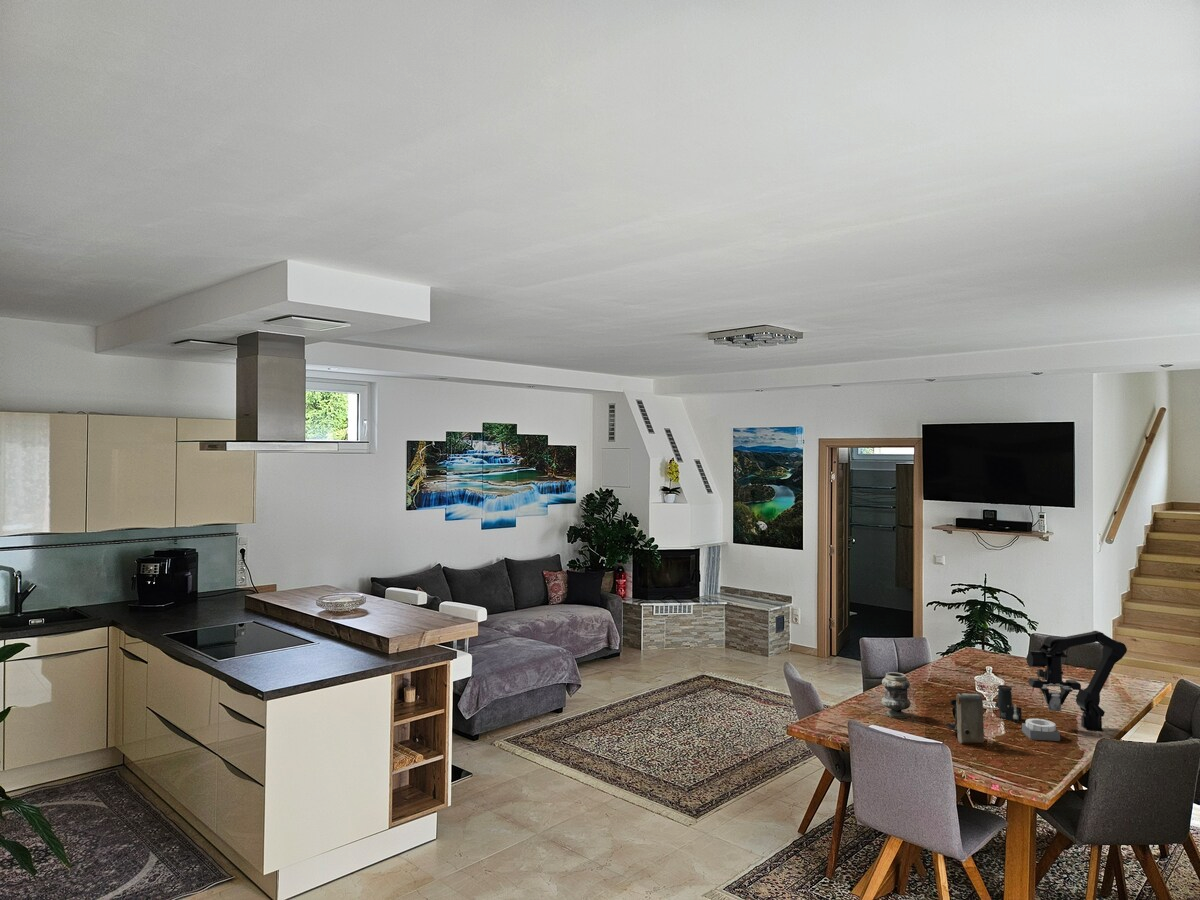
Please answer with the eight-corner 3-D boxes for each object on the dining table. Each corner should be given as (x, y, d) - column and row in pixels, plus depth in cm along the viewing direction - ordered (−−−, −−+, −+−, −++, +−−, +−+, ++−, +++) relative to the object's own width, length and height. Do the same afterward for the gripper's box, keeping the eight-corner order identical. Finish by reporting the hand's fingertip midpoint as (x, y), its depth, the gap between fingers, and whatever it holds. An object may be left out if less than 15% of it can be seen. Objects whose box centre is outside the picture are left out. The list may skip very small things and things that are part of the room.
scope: (1016, 691, 339) (991, 686, 346) (1017, 723, 338) (992, 718, 345) (1022, 687, 345) (998, 683, 352) (1023, 719, 344) (998, 714, 351)
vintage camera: (966, 733, 328) (963, 684, 329) (985, 744, 312) (983, 693, 314) (943, 733, 327) (941, 685, 329) (961, 745, 312) (959, 694, 313)
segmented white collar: (1050, 732, 327) (1050, 719, 327) (1060, 741, 316) (1060, 727, 317) (1021, 731, 329) (1021, 717, 329) (1030, 739, 318) (1030, 725, 319)
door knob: (1058, 708, 335) (1058, 691, 335) (1063, 711, 330) (1063, 694, 331) (1046, 707, 336) (1045, 690, 336) (1050, 710, 331) (1050, 694, 331)
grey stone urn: (909, 712, 355) (908, 671, 355) (912, 720, 343) (911, 678, 343) (880, 709, 358) (880, 670, 358) (882, 717, 346) (882, 676, 347)
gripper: (1070, 663, 340) (1070, 700, 340) (1023, 661, 343) (1024, 697, 343) (1081, 670, 329) (1081, 707, 329) (1033, 668, 332) (1033, 705, 332)
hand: (1054, 704), depth 333 cm, fingers closed on door knob, 5 cm apart
